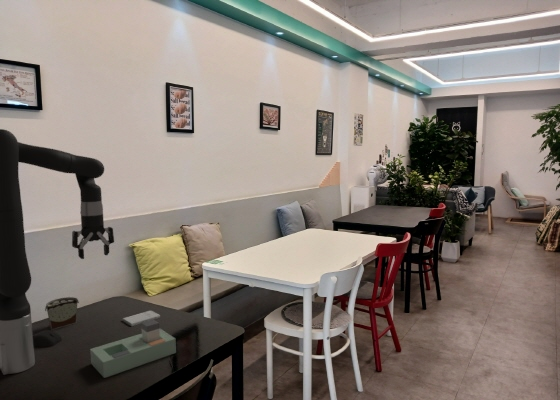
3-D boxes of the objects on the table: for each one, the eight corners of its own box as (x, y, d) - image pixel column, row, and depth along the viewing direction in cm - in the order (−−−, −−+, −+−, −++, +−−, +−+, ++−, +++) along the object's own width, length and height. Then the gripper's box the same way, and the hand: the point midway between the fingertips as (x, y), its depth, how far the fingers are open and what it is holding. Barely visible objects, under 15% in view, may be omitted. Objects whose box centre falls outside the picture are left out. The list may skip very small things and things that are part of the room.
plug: (148, 355, 142) (146, 326, 141) (142, 350, 146) (141, 322, 145) (160, 351, 145) (159, 322, 144) (154, 346, 149) (153, 319, 147)
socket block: (104, 378, 129) (103, 361, 129) (91, 363, 138) (90, 348, 138) (176, 352, 145) (175, 338, 144) (160, 341, 154) (159, 327, 153)
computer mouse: (52, 347, 151) (51, 337, 150) (23, 346, 153) (22, 335, 152) (63, 340, 157) (62, 329, 156) (36, 338, 159) (35, 328, 158)
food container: (75, 317, 177) (73, 294, 176) (80, 322, 173) (78, 298, 172) (42, 326, 169) (40, 302, 168) (47, 331, 164) (45, 306, 163)
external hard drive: (122, 321, 174) (150, 313, 182) (131, 327, 168) (160, 318, 177) (122, 318, 173) (150, 309, 182) (131, 323, 168) (160, 314, 176)
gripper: (74, 216, 149) (77, 261, 150) (115, 212, 158) (117, 255, 160) (68, 214, 154) (70, 258, 156) (108, 210, 164) (110, 252, 165)
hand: (94, 256), depth 158 cm, fingers open, 8 cm apart
